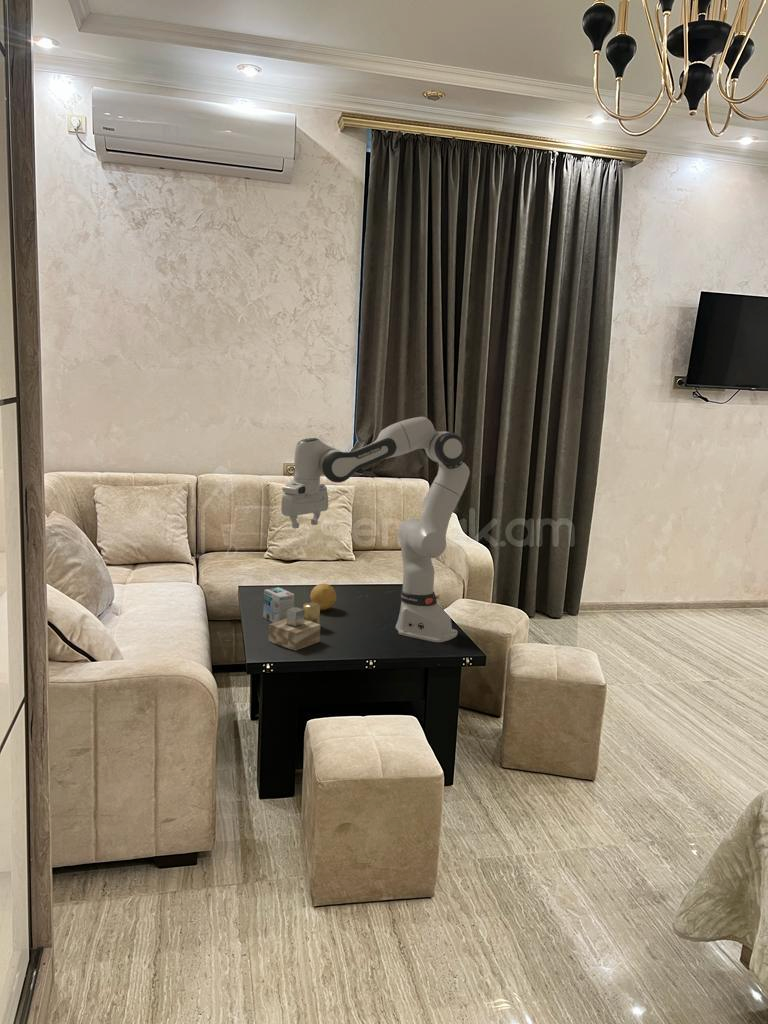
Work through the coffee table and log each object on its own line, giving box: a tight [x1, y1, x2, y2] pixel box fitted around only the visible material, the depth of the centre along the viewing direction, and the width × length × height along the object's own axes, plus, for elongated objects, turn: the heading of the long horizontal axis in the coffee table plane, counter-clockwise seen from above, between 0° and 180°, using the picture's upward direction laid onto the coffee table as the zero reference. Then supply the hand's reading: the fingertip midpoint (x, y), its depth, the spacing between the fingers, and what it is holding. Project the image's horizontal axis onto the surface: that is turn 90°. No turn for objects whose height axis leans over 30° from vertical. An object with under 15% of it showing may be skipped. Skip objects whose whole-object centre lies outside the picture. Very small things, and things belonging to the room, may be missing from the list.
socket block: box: [268, 619, 321, 651], centre depth 253 cm, size 12×12×6 cm
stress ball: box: [309, 583, 337, 611], centre depth 289 cm, size 10×10×10 cm
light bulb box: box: [263, 587, 296, 624], centre depth 273 cm, size 11×7×11 cm, turn 40°
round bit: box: [302, 602, 321, 624], centre depth 269 cm, size 6×6×8 cm
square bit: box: [287, 606, 304, 628], centre depth 253 cm, size 4×4×10 cm
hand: (305, 526), depth 259 cm, fingers open, 8 cm apart
